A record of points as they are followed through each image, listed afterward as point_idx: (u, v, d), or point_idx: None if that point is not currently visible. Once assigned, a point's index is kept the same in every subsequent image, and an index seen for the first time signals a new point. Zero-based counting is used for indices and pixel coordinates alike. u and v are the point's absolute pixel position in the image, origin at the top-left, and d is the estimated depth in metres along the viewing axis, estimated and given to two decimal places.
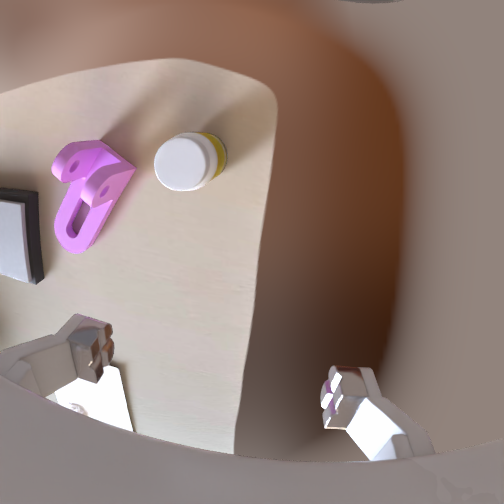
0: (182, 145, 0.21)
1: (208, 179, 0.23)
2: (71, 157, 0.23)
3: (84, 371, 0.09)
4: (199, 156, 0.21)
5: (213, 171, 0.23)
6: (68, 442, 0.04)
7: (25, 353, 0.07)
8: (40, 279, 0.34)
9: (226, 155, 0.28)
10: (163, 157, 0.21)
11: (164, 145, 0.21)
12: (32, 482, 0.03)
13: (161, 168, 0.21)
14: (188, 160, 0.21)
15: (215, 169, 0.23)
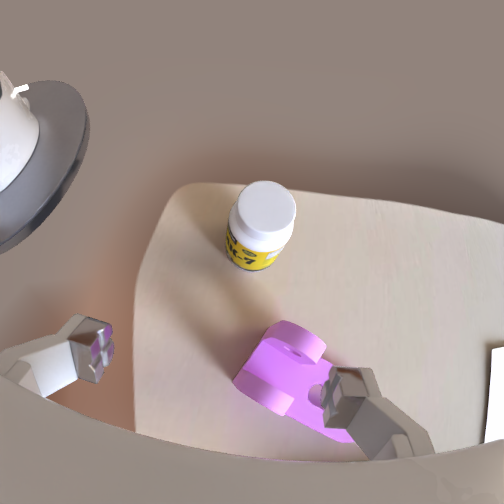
0: (246, 201, 0.20)
1: None
2: (259, 378, 0.18)
3: (84, 371, 0.09)
4: (257, 185, 0.21)
5: None
6: (68, 442, 0.04)
7: (25, 353, 0.07)
8: None
9: None
10: (260, 222, 0.20)
11: (246, 220, 0.20)
12: (32, 481, 0.03)
13: (272, 224, 0.20)
14: (262, 196, 0.20)
15: None
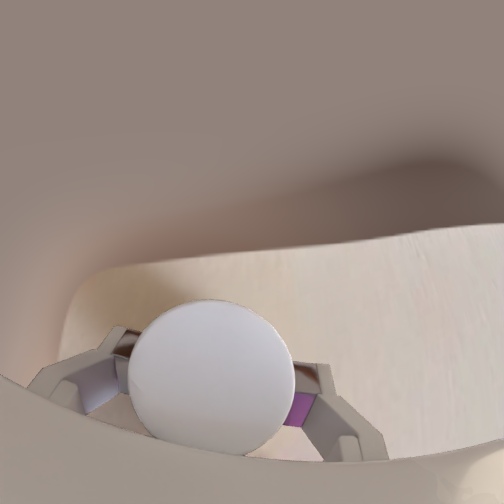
0: (150, 380, 0.06)
1: None
2: None
3: None
4: (173, 323, 0.07)
5: None
6: (68, 442, 0.04)
7: (67, 371, 0.07)
8: None
9: None
10: (199, 434, 0.06)
11: (161, 436, 0.06)
12: (32, 482, 0.03)
13: (234, 434, 0.06)
14: (190, 356, 0.07)
15: None
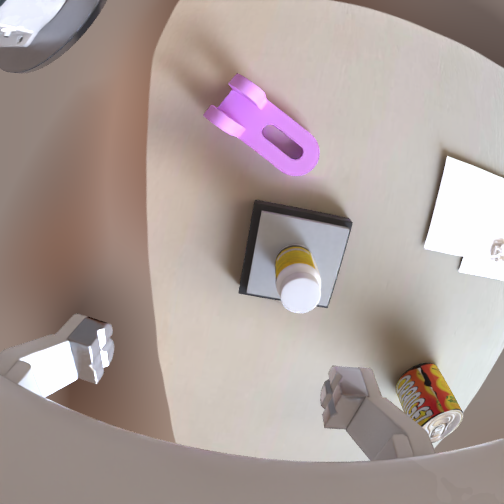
0: (286, 293, 0.29)
1: (314, 271, 0.31)
2: (214, 107, 0.28)
3: (84, 371, 0.09)
4: (296, 282, 0.29)
5: (308, 267, 0.31)
6: (68, 442, 0.04)
7: (25, 353, 0.07)
8: (348, 219, 0.37)
9: (295, 246, 0.35)
10: (294, 306, 0.30)
11: (285, 305, 0.30)
12: (32, 482, 0.03)
13: (301, 308, 0.30)
14: (298, 289, 0.29)
15: (307, 265, 0.31)
